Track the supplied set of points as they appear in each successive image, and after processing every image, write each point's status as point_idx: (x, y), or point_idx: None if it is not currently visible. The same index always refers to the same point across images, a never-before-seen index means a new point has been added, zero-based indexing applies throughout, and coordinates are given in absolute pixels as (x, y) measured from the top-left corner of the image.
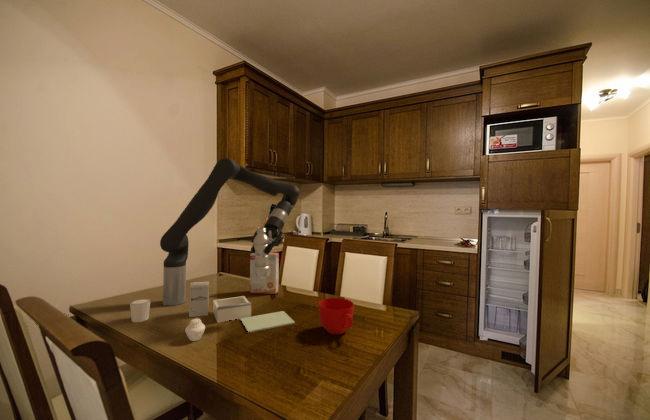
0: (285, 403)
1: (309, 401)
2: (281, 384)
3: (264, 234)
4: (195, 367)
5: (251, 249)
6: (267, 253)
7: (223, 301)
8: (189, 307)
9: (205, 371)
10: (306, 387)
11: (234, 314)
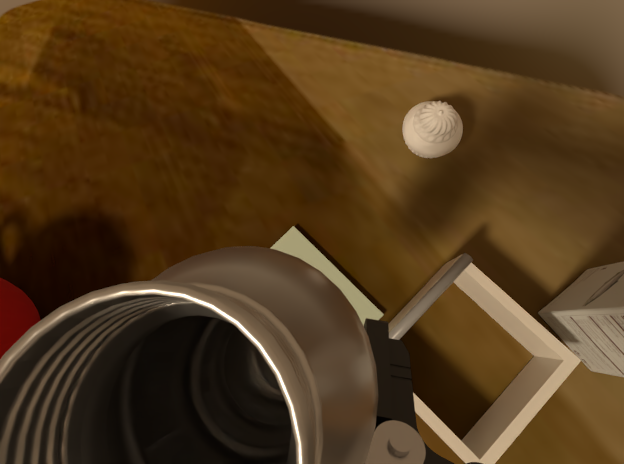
0: (82, 9)
1: (41, 25)
2: (105, 49)
3: (107, 377)
4: (315, 41)
5: (381, 326)
6: None
7: (536, 385)
8: (614, 263)
9: (283, 37)
10: (54, 56)
11: (408, 305)
